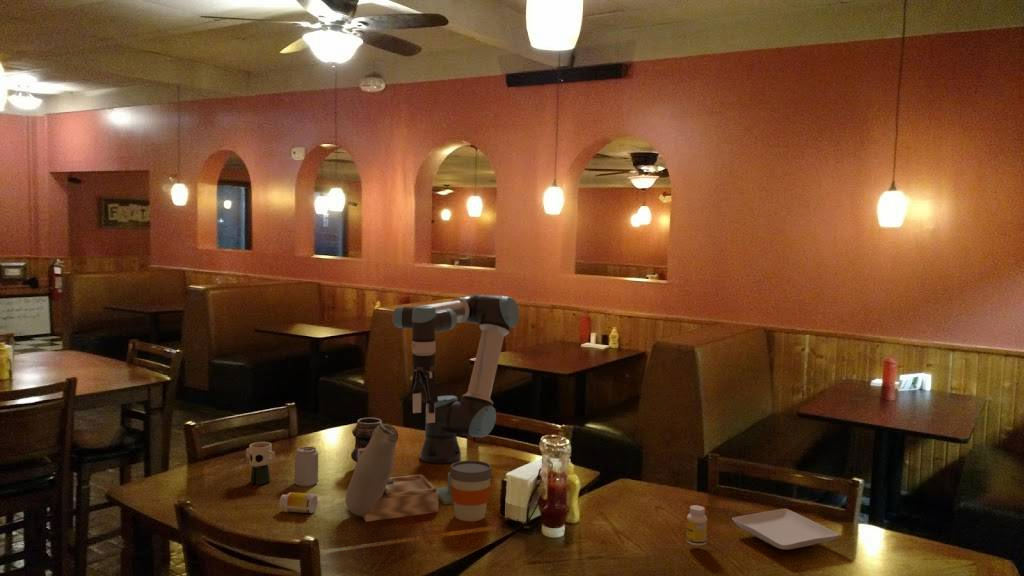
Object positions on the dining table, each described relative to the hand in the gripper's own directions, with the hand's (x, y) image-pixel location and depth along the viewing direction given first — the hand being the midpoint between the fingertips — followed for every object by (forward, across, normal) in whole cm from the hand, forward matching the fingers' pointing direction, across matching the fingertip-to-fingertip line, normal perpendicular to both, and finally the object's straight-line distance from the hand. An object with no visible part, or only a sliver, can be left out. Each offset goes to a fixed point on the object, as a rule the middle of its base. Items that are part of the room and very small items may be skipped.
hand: (423, 417), depth 243 cm
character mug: (+23, -24, -49) cm, 59 cm away
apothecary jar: (+24, -24, -12) cm, 36 cm away
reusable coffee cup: (+23, +29, +5) cm, 38 cm away
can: (+23, -17, -35) cm, 45 cm away
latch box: (+23, +14, -14) cm, 30 cm away
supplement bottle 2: (+24, +71, +55) cm, 93 cm away
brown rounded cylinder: (+22, +17, -26) cm, 38 cm away
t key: (+17, +14, -21) cm, 30 cm away
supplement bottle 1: (+20, +10, -37) cm, 43 cm away
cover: (+24, +11, +7) cm, 28 cm away
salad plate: (+25, +77, +82) cm, 115 cm away
